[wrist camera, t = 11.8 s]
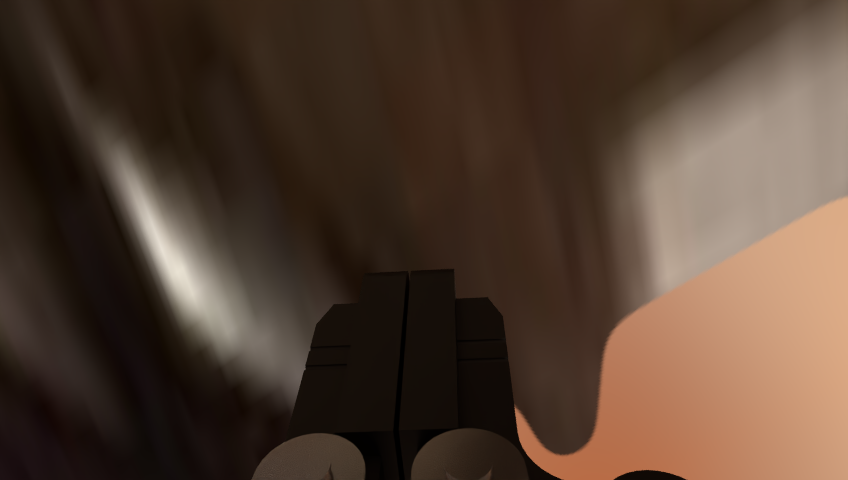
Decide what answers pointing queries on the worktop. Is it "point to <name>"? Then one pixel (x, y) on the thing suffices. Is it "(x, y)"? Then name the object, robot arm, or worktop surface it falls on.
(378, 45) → the worktop surface
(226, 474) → the worktop surface
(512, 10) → the worktop surface
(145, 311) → the worktop surface
